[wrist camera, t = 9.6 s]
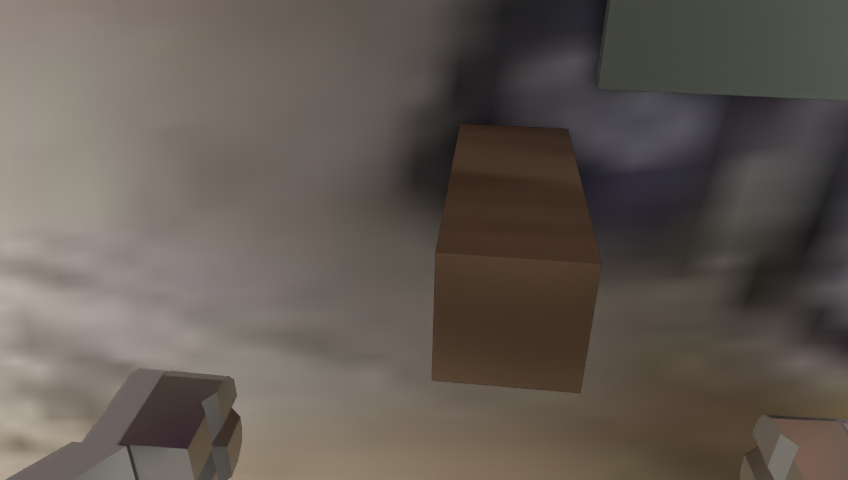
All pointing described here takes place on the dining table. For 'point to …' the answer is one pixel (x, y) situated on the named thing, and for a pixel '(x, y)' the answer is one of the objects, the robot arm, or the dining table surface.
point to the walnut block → (514, 263)
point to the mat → (726, 47)
